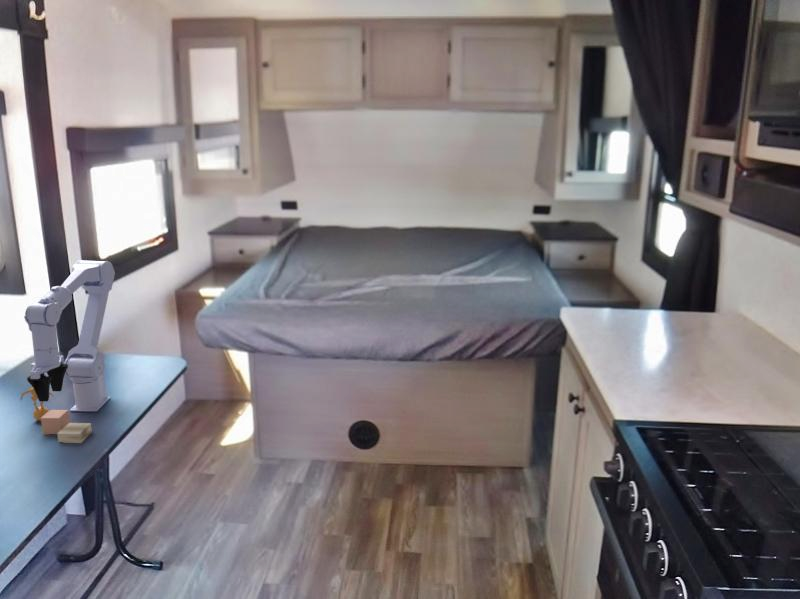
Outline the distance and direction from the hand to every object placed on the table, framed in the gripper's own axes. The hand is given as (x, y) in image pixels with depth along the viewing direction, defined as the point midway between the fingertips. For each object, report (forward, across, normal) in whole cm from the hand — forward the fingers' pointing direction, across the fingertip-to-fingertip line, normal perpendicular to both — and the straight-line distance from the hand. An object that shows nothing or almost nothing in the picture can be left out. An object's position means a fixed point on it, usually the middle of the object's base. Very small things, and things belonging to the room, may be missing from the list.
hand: (50, 395), depth 171 cm
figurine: (+10, -7, -6) cm, 14 cm away
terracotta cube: (+11, -1, 0) cm, 11 cm away
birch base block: (+11, +3, +7) cm, 13 cm away
